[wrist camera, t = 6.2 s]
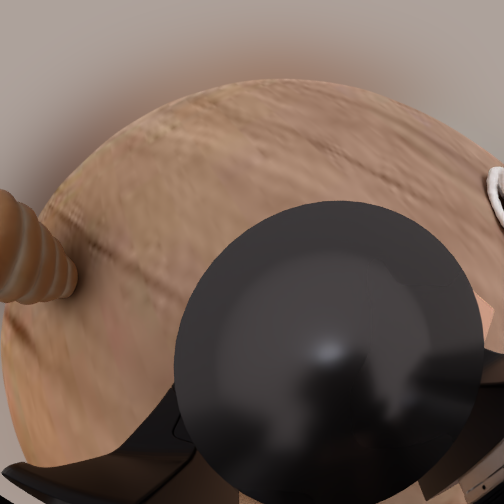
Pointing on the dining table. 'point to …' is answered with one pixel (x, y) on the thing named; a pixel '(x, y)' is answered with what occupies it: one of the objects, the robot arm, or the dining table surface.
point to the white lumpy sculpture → (496, 190)
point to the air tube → (329, 356)
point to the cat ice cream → (31, 257)
